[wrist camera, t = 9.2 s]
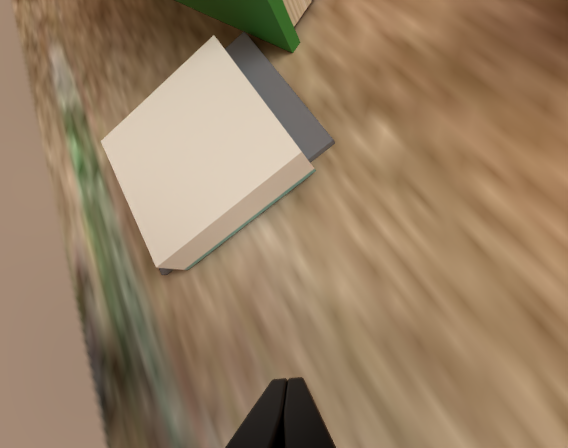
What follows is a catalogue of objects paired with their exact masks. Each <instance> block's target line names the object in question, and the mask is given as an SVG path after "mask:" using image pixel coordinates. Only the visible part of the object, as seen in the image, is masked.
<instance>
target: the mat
mask: <svg viewBox="0 0 568 448" xmlns="http://www.w3.org/2000/svg"><path fill="white" fill-rule="evenodd" d="M225 50H226V52H227V53H228V54H229V56H230V57H231V58H232V60H233V61H234V62H235V64H236V65H237V66H238V68H239V69H240V70H241V72H242V73H243V74H244V76H245V77H246V78H247V80H248V81H249V82H250V84H251V85H252V86H253V87H254V89H255V90H256V91H257V93H258V94H259V95H260V97H261V98H262V99H263V101H264V102H265V103H266V105H267V106H268V107H269V109H270V110H271V111H272V113H273V114H274V115H275V117H276V118H277V119H278V121H279V122H280V123H281V125H282V126H283V127H284V129H285V130H286V131H287V133H288V134H289V135H290V137H291V138H292V139H293V141H294V142H295V143H296V145H297V146H298V147H299V149H300V150H301V151H302V153H303V154H304V155H305V157H306V158H307V159H308V161H309V162H312V161H313V160H314V159H315V158H317V157H318V156H319V155H321V154H322V153H323V152H324V151H326V150H327V149H328V148H329V147H331V146H332V145H333V144H335V142H334V140H333V139H332V137H331V136H330V135H329V134H328V133H327V131H326V130H325V129H324V128H323V126H322V125H321V124H320V123H319V122H318V120H317V119H316V118H315V117H314V115H313V114H312V113H311V112H310V111H309V109H308V108H307V107H306V106H305V105H304V103H303V102H302V101H301V100H300V98H299V97H298V96H297V95H296V94H295V92H294V91H293V90H292V89H291V87H290V86H289V85H288V84H287V83H286V81H285V80H284V79H283V78H282V76H281V75H280V74H279V73H278V72H277V70H276V69H275V68H274V67H273V66H272V64H271V63H270V62H269V61H268V59H267V58H266V57H265V56H264V55H263V53H262V52H261V51H260V50H259V48H258V47H257V46H256V45H255V44H254V42H253V41H252V40H251V39H250V37H249V36H248V35H247V34H246V33H245V31H244V32H243V33H242V34H241V35H239V36H238V37H237V38H236V39H235V40H234V41H233V42H232V43H231V44H230V45H229V46H227V47H226V48H225ZM159 270H160V272H161V274H162V275H167V274H168V273H170V272H171V271H172V270H174V269H167V268H159Z"/></svg>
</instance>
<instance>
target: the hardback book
mask: <svg viewBox="0 0 568 448" xmlns="http://www.w3.org/2000/svg"><path fill="white" fill-rule="evenodd" d="M175 1H177V2H179V3H182V4H184V5H186V6H188V7H190V8H193V9H195V10H197V11H199V12H202V13H204V14H206V15H208V16H211V17H213V18H215V19H217V20H220V21H222V22H224V23H226V24H229V25H231V26H233V27H235V28H237V29H240V30H242V31H245V32H246V33H249V34H251V35H253V36H255V37H258V38H260V39H262V40H264V41H267V42H269V43H271V44H273V45H276V46H278V47H280V48H282V49H284V50H287V51H289V52H291V53H293V52H294V51H295V49H296V48H297V46H298V45H299V43H300V41H299V38H298V36H297V33H296V31H295V29H294V26H295V25H296V23H297V22H298V20H299V19H300V18H301V16H302V15H303V13H304V12H305V10H306V9H307V7H308V6H309V4H310V3H311V1H312V0H175Z"/></svg>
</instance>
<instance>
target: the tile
mask: <svg viewBox="0 0 568 448" xmlns="http://www.w3.org/2000/svg"><path fill="white" fill-rule="evenodd" d="M101 143H102V145H103V147H104V150H105V152H106V154H107V156H108V159H109V161H110V163H111V166H112V168H113V170H114V172H115V175H116V177H117V179H118V182H119V184H120V186H121V188H122V191H123V193H124V195H125V198H126V200H127V202H128V204H129V207H130V209H131V211H132V214H133V216H134V218H135V220H136V223H137V225H138V227H139V230H140V232H141V234H142V236H143V239H144V241H145V243H146V246H147V248H148V250H149V252H150V255H151V257H152V259H153V262H154V264H155V266H156V268H167V269H180V270H189V269H190V268H191V267H192V266H194V265H195V264H196V263H198V262H199V261H200V260H202V259H203V258H204V257H205V256H207V255H208V254H209V253H211V252H212V251H213V250H214V249H216V248H217V247H218V246H220V245H221V244H222V243H223V242H225V241H226V240H227V239H229V238H230V237H231V236H233V235H234V234H235V233H236V232H238V231H239V230H240V229H242V228H243V227H244V226H245V225H247V224H248V223H249V222H251V221H252V220H253V219H255V218H256V217H257V216H258V215H260V214H261V213H262V212H264V211H265V210H266V209H267V208H269V207H270V206H271V205H273V204H274V203H275V202H277V201H278V200H279V199H280V198H282V197H283V196H284V195H286V194H287V193H288V192H289V191H291V190H292V189H293V188H295V187H296V186H297V185H299V184H300V183H301V182H302V181H304V180H305V179H306V178H308V177H309V176H310V175H311V174H313V173H314V172H315V171H316V170H315V169H314V167H313V166H312V165H311V163H310V162H309V161H308V159H307V158H306V157H305V155H304V154H303V153H302V151H301V150H300V149H299V147H298V146H297V145H296V143H295V142H294V141H293V139H292V138H291V137H290V135H289V134H288V133H287V131H286V130H285V129H284V127H283V126H282V125H281V123H280V122H279V121H278V119H277V118H276V117H275V115H274V114H273V113H272V111H271V110H270V109H269V107H268V106H267V105H266V103H265V102H264V101H263V99H262V98H261V97H260V95H259V94H258V93H257V91H256V90H255V89H254V87H253V86H252V85H251V84H250V82H249V81H248V80H247V78H246V77H245V76H244V74H243V73H242V72H241V70H240V69H239V68H238V66H237V65H236V64H235V62H234V61H233V60H232V58H231V57H230V56H229V54H228V53H227V52H226V50H225V49H224V48H223V46H222V45H221V44H220V42H219V41H218V40H217V38H216V37H215V36H214V35H213V36H212V37H211V38H210V39H209V40H208V41H207V42H206V43H205V44H204V45H203V46H202V47H201V48H199V49H198V50H197V51H196V52H195V53H194V54H193V55H192V56H191V57H190V58H189V59H188V60H187V61H186V62H185V63H184V64H182V65H181V66H180V67H179V68H178V69H177V70H176V71H175V72H174V73H173V74H172V75H171V76H170V77H169V78H168V79H166V80H165V81H164V82H163V83H162V84H161V85H160V86H159V87H158V88H157V89H156V90H155V91H154V92H153V93H152V94H150V95H149V96H148V97H147V98H146V99H145V100H144V101H143V102H142V103H141V104H140V105H139V106H138V107H137V108H136V109H135V110H133V111H132V112H131V113H130V114H129V115H128V116H127V117H126V118H125V119H124V120H123V121H122V122H121V123H120V124H119V125H117V126H116V127H115V128H114V129H113V130H112V131H111V132H110V133H109V134H108V135H107V136H106V137H105V138H104V139H103V140H101Z"/></svg>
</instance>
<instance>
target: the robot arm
mask: <svg viewBox="0 0 568 448" xmlns="http://www.w3.org/2000/svg"><path fill="white" fill-rule="evenodd" d="M225 448H336V446H335V444H334V442H333V440H332V438H331V436H330V434H329V432H328V429H327V427H326V425H325V423H324V421H323V419H322V417H321V415H320V412H319V410H318V408H317V406H316V404H315V402H314V400H313V397H312V395H311V393H310V391H309V389H308V387H307V385H306V383H305V380H304V379H303V378H302V377H298V378H289V379H288V380H287V379H286V378H283V379H273V380H272V381H271V382H270V384H269V385H268V387H267V388H266V389H265V391H264V392H263V394H262V395H261V397H260V398H259V400H258V401H257V402H256V404H255V405H254V407H253V408H252V410H251V411H250V413H249V414H248V415H247V417H246V418H245V420H244V421H243V423H242V424H241V426H240V427H239V428H238V430H237V431H236V433H235V434H234V436H233V437H232V439H231V440H230V441H229V443H228V444H227V446H226V447H225Z"/></svg>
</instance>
